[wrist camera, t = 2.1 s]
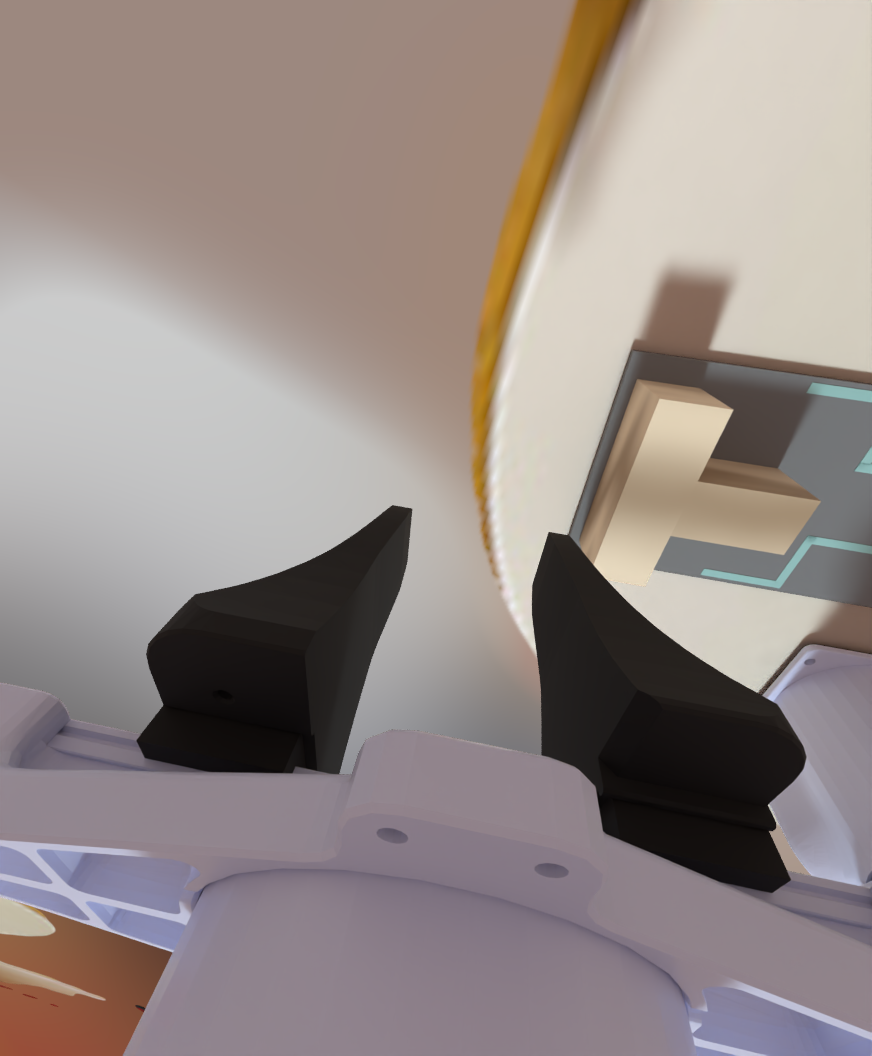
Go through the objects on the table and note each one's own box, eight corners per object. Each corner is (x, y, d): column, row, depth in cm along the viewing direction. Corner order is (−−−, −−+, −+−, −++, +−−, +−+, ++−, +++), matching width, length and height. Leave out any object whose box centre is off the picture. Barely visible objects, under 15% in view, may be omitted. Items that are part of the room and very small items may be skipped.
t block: (719, 564, 21) (748, 605, 18) (579, 540, 21) (588, 576, 19) (816, 405, 17) (870, 430, 14) (637, 379, 17) (659, 398, 15)
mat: (869, 604, 21) (874, 608, 21) (563, 550, 22) (563, 554, 22) (1046, 409, 16) (1055, 411, 16) (632, 349, 17) (633, 351, 17)
